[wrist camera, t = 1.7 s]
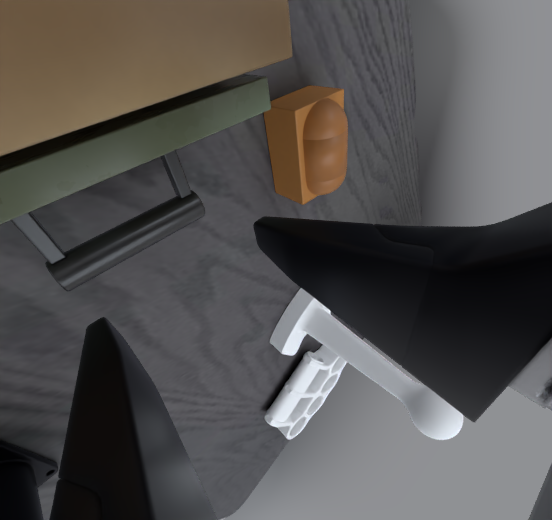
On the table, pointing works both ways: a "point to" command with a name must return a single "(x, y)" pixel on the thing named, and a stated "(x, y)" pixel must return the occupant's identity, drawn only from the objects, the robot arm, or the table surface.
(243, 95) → the drawer
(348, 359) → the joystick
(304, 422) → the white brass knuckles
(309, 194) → the bread loaf
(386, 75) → the table surface
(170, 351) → the table surface
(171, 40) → the cabinet
